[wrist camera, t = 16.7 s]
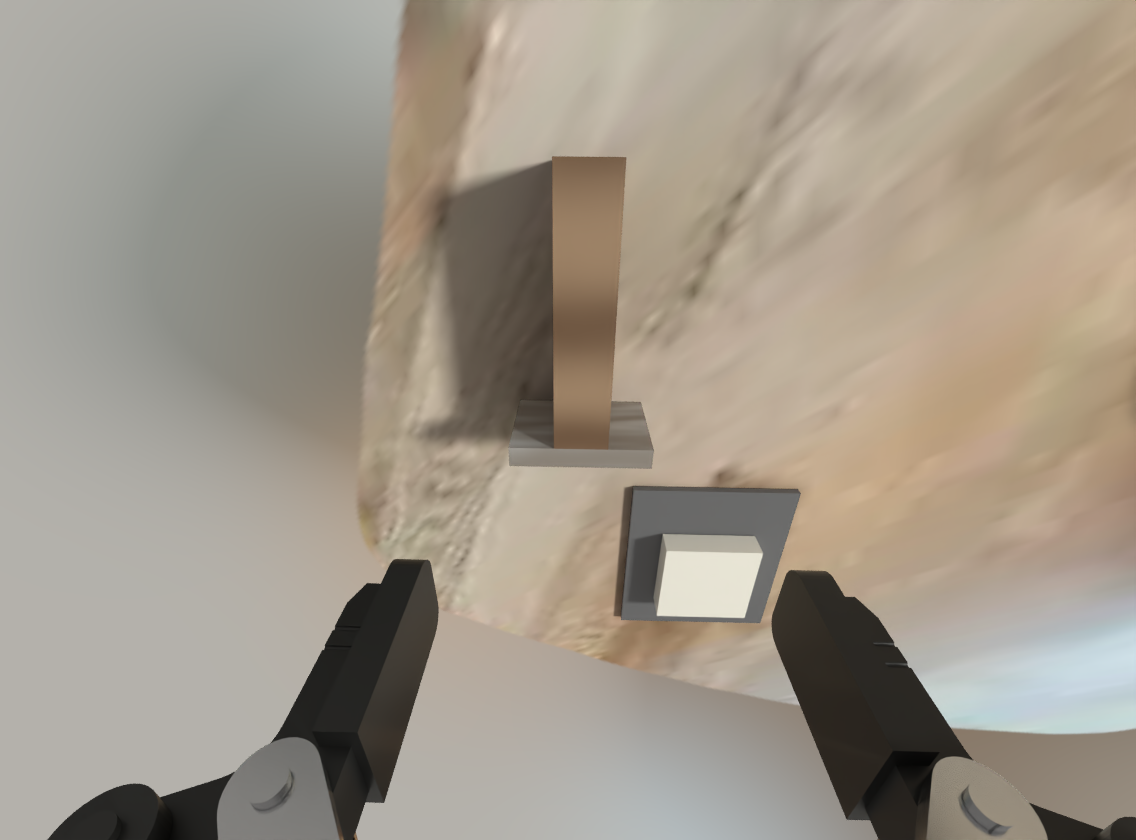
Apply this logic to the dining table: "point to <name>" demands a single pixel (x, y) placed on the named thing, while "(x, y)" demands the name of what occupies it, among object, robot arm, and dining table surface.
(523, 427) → the wooden post on base
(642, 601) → the mat
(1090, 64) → the dining table surface
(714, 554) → the tile
